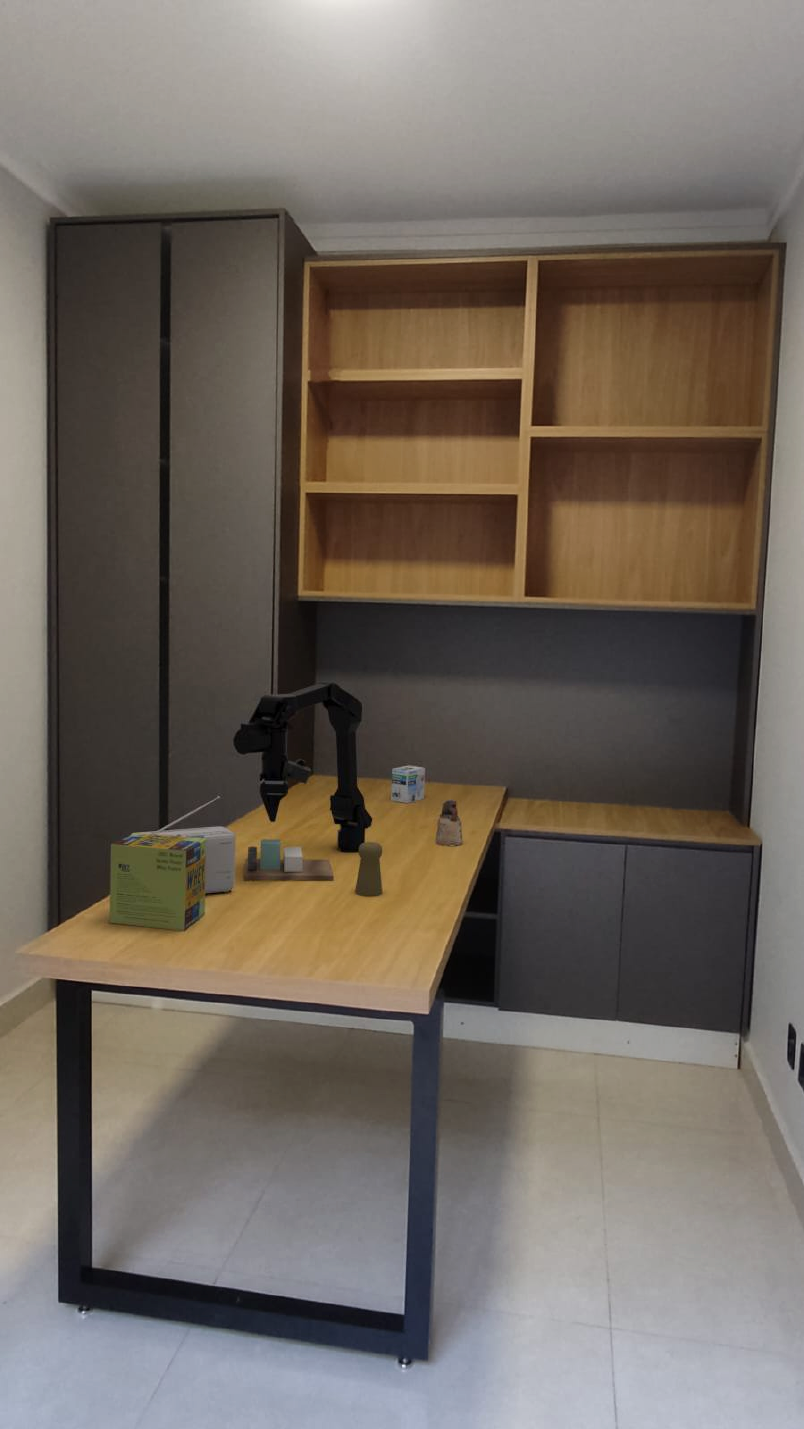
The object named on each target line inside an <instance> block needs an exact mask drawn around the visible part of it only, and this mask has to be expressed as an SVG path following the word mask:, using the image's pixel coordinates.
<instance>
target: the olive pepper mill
mask: <svg viewBox="0 0 804 1429" xmlns="http://www.w3.org/2000/svg"><path fill="white" fill-rule="evenodd" d="M382 855H383V847H382V845H381V844H379V843H377V842H374V841H366V842H365V843H362V844H361V845H360V846H359V852H358V856H359V857H360V860H359V867H358V873H357V878H356V883H355V890H354V893H355V895H357V896H361V897H370V898H371V897H379V896H382V895H383V886H382V884H383V883H382V873H381V862H380V861H381V860H380V858H381V857H382Z"/></svg>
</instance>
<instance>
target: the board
mask: <svg viewBox="0 0 804 1429" xmlns="http://www.w3.org/2000/svg"><path fill="white" fill-rule="evenodd" d="M247 848H248V849H247V858H245V859H244V870H243V872H244V873H243V881H244V882H259V881H260V882H262V881H263V882H267V881H268V882H270V881H271V882H272V881H273V882H274V881H275V882H276V881H277V880H282V882H285V880H310V881H309V882H312V881H313V882H314V881H317V882H319V881H320V882H321V881H322V882H325V881H326V882H333V881H334V880H335V879H334V876H335V875H334V871H333V869H332V865H331V862H330V859H311V858H310V859H309V858H308V859H303V860H302V872H284V862H283V858H280V870H260V858H259V859H258V857H257V856H258V852H257V850H258V847H257V846H248V847H247ZM250 880H251V881H250ZM255 880H256V881H255ZM277 882H278V881H277Z"/></svg>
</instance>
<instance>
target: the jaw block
mask: <svg viewBox="0 0 804 1429" xmlns="http://www.w3.org/2000/svg"><path fill="white" fill-rule="evenodd" d="M281 843H282V842H281V839H273V838H272V839H267V838H266V839H260V855H259V856H260V857H259V859H260V870H280V859H281Z"/></svg>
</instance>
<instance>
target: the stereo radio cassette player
mask: <svg viewBox="0 0 804 1429" xmlns="http://www.w3.org/2000/svg"><path fill="white" fill-rule="evenodd" d="M218 799H221V797H220V795H217V796H216V798H214V799H213V800H211V801H209V802H207V803H205V804H203V805H201V806H199V807H198V808H196V809H194V810H192V811H190V812H188V813H187V814H185V815H183V816H181V817H180V818H178V819H176V820H174V821H173V822H171V823H169V824H167V825H165V826H164V827H162V828H160V829H158V830H157V831H143V832H142V831H141V832H138V833H145V834H157V835H171V836H182V837H194V838H206V875H205V895H206V894H211V893H213V894H214V893H222V892H224V893H227V892H229V891H230V890H231V889H233V888H234V886H235V873H236V872H235V869H236V868H235V866H236V834H235V833H234V831H231V830H230V829H229V828H227V827H224V826H221V825H220V826H208V827H207V826H206V827H195V828H180V829H169V828H170V827H171V826H174V825H175V824H177V823H179V822H180V821H182V820H184V819H185V818H188V817H189V816H191V815H193V814H195V813H196V812H198V811H199V810H201V809H203V808H205V807H206V806H208V805H210V804H211V803H212V802H214V801H216V800H218ZM166 829H168V830H166ZM135 833H136V832H133V833H131V834H130V835H133V834H135Z"/></svg>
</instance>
